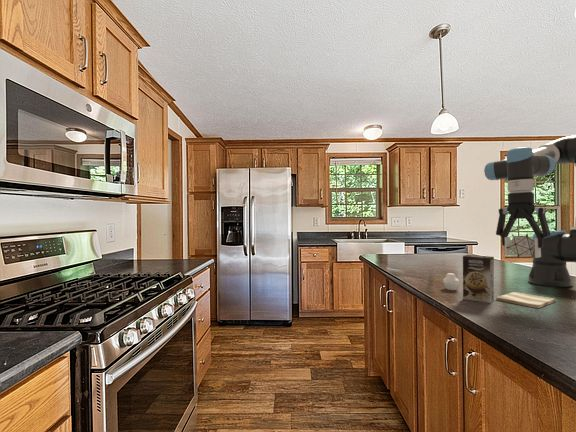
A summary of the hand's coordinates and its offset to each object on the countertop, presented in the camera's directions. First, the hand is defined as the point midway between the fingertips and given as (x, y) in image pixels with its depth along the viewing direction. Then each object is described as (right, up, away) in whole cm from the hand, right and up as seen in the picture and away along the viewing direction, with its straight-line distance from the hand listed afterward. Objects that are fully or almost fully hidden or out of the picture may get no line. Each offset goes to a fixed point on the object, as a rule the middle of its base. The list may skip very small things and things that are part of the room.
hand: (522, 256), depth 115 cm
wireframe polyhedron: (0, 0, 0) cm, 1 cm away
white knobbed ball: (-15, -17, +21) cm, 31 cm away
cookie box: (-13, -17, +5) cm, 22 cm away
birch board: (+2, -16, +2) cm, 17 cm away
